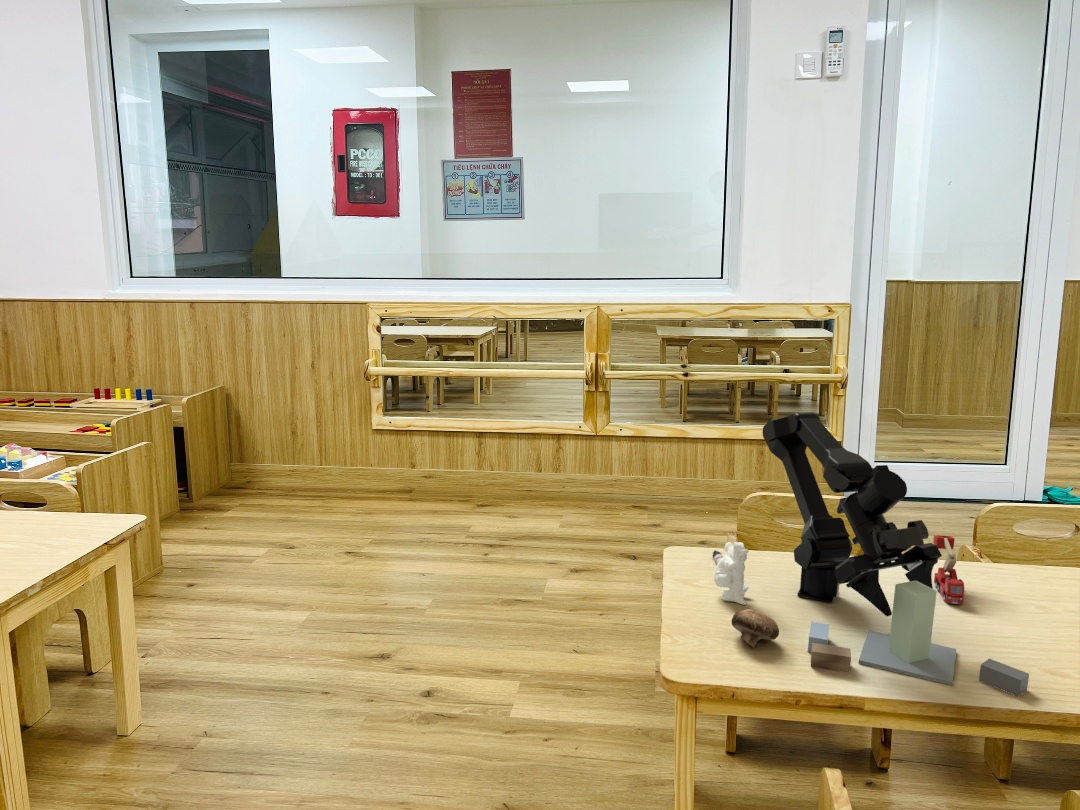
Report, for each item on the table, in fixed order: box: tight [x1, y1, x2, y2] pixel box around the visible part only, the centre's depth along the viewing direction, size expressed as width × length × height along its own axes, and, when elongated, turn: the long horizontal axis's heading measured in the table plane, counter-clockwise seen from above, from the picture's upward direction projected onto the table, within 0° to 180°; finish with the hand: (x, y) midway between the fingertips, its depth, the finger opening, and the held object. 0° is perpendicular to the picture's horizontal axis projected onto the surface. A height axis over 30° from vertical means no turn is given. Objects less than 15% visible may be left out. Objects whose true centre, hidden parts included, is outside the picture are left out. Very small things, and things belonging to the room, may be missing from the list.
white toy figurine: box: [713, 541, 749, 606], centre depth 162 cm, size 8×7×12 cm
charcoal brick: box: [978, 658, 1030, 697], centre depth 134 cm, size 6×3×3 cm, turn 40°
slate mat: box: [858, 629, 957, 686], centre depth 142 cm, size 14×12×1 cm
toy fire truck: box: [932, 534, 965, 605], centre depth 167 cm, size 3×14×10 cm, turn 168°
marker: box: [712, 550, 724, 565], centre depth 177 cm, size 15×2×2 cm, turn 2°
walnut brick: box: [810, 643, 852, 674], centre depth 139 cm, size 6×3×3 cm, turn 73°
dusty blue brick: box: [807, 621, 830, 653], centre depth 146 cm, size 6×3×3 cm, turn 159°
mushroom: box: [731, 608, 780, 649], centre depth 146 cm, size 8×8×6 cm
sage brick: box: [888, 580, 938, 663], centre depth 141 cm, size 4×4×12 cm
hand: (911, 611), depth 141 cm, fingers open, 9 cm apart
